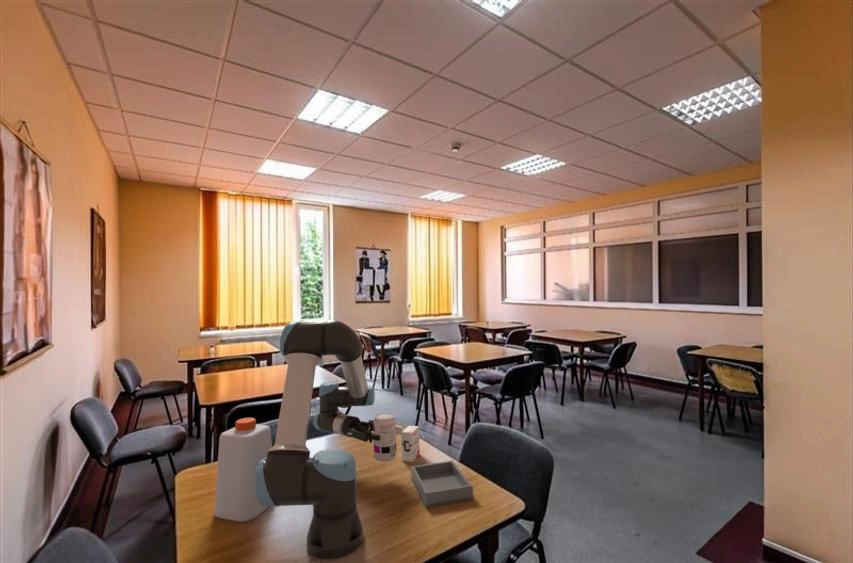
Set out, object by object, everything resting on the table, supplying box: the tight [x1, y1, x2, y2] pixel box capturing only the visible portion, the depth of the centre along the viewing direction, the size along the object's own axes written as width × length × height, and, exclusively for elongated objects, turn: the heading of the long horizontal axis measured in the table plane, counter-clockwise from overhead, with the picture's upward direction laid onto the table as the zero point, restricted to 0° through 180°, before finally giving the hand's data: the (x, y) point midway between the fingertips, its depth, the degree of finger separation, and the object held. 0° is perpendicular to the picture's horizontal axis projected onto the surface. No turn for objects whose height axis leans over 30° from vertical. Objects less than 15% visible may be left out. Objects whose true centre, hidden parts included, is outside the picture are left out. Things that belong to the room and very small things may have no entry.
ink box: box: [400, 425, 421, 463], centre depth 159 cm, size 8×5×12 cm, turn 160°
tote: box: [410, 460, 474, 509], centre depth 133 cm, size 20×16×4 cm
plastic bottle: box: [213, 417, 273, 523], centre depth 123 cm, size 15×15×28 cm
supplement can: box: [373, 413, 397, 463], centre depth 141 cm, size 8×8×15 cm
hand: (395, 434), depth 139 cm, fingers closed on supplement can, 8 cm apart
